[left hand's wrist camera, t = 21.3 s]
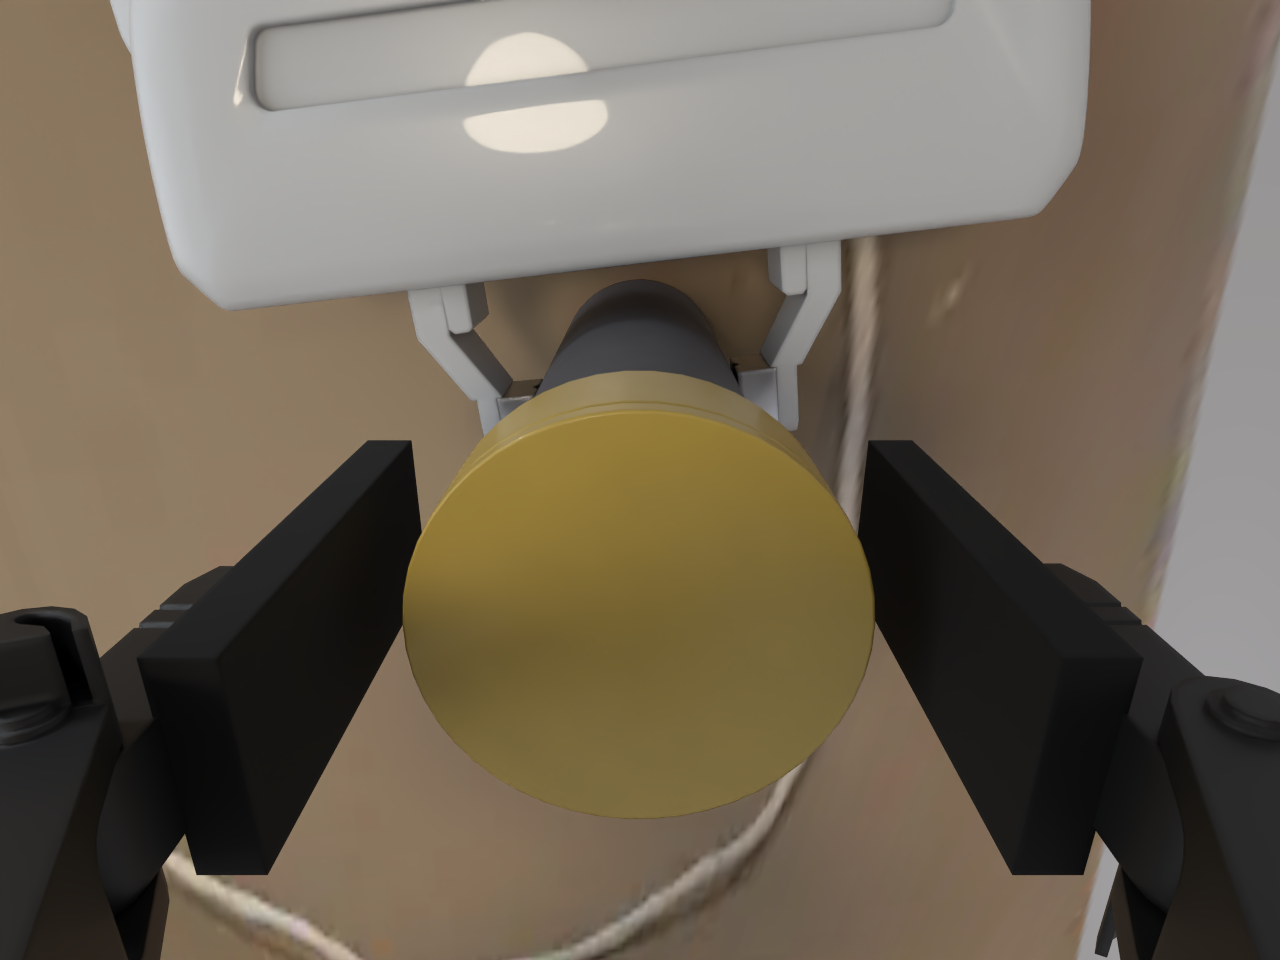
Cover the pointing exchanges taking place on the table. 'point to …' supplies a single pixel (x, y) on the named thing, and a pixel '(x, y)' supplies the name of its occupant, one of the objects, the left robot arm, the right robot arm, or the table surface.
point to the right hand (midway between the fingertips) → (644, 440)
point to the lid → (638, 599)
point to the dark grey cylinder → (639, 337)
